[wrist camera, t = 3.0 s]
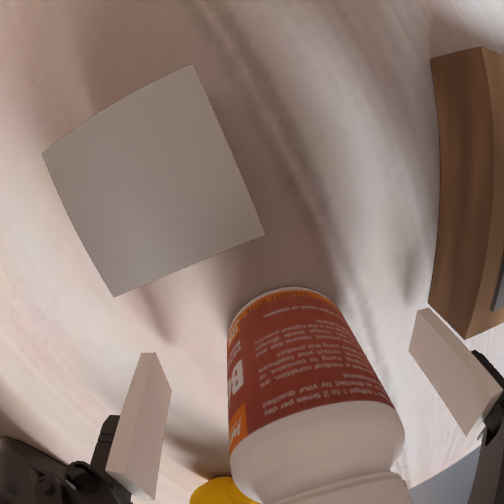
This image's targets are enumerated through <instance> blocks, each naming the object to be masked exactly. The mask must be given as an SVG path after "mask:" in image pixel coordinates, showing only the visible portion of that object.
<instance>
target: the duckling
mask: <svg viewBox="0 0 504 504" xmlns="http://www.w3.org/2000/svg"><path fill="white" fill-rule="evenodd" d="M190 504H262V503H259V502H256V501H254V500H252V499H250V498H249V497H247V496H246V495H244V494H243V493H242V492H241V491H240V490H239V489H238V487H237V486H236V484H235V483H234V480H233V478H232V477H229V476H222V477H217V478H214V479H212V480H210V481H208V482H206V483H205V484H203V485H201V486H200V487H198V488H197V489H196V490H195V491H194V492H193V494H192V495H191V498H190Z"/></svg>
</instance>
